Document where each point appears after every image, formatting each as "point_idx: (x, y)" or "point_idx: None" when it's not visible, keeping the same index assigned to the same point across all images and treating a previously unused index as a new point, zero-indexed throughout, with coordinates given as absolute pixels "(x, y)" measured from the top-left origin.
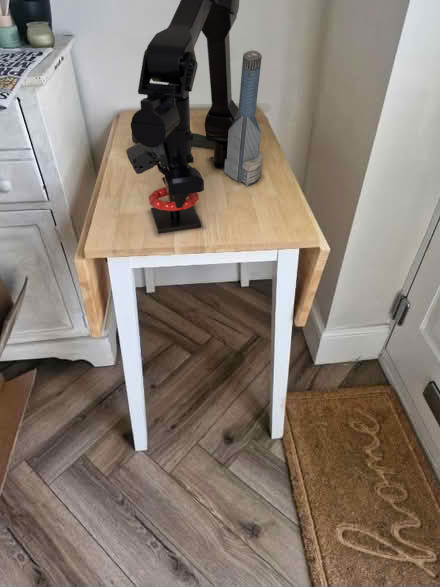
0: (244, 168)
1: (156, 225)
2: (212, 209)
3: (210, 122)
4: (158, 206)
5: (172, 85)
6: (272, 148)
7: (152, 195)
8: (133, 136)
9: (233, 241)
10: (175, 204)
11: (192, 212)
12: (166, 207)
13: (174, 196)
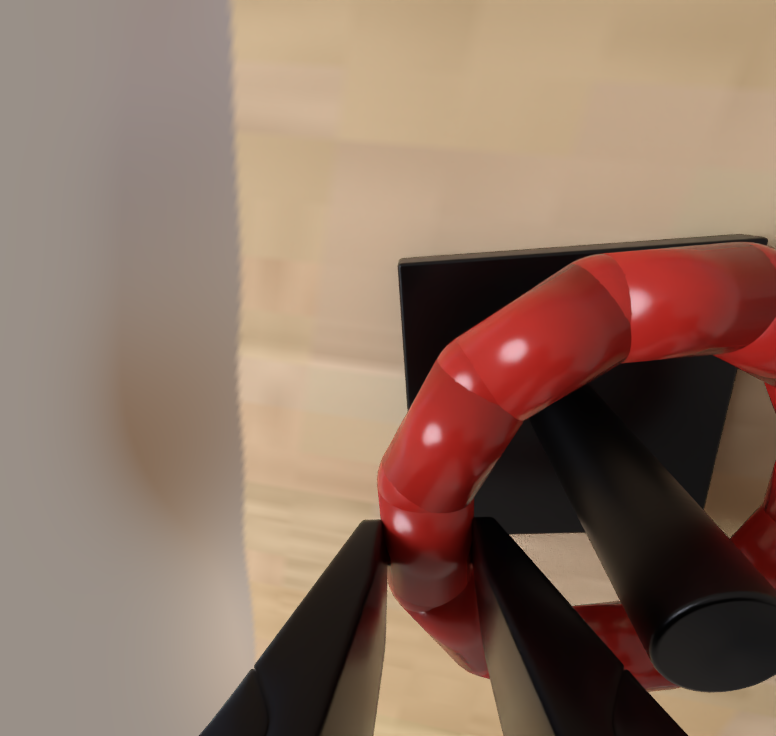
0: None
1: (464, 260)
2: (596, 600)
3: None
4: (455, 348)
5: None
6: None
7: (740, 308)
8: None
9: (266, 617)
10: (373, 538)
11: (565, 516)
12: (405, 429)
13: (260, 664)
